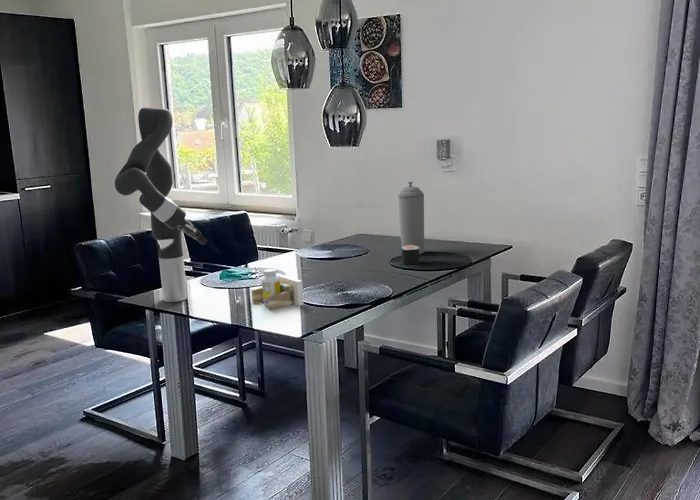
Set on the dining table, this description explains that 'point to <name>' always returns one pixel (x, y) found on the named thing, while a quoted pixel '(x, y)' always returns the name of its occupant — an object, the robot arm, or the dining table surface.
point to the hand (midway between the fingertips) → (205, 242)
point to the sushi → (410, 255)
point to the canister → (412, 217)
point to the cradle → (275, 296)
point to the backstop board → (296, 288)
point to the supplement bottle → (270, 284)
